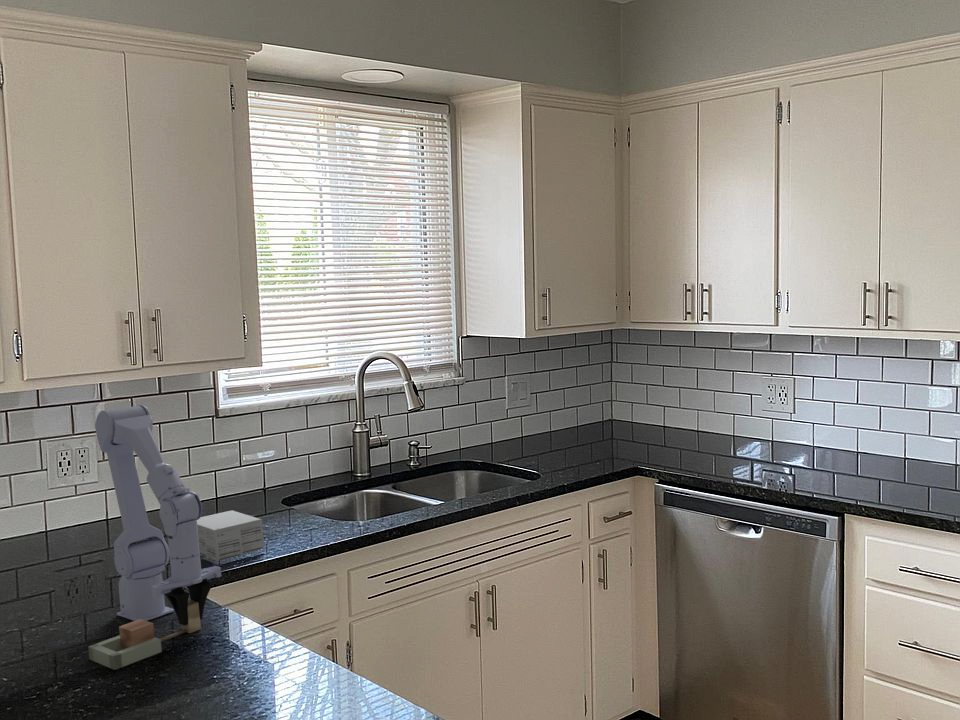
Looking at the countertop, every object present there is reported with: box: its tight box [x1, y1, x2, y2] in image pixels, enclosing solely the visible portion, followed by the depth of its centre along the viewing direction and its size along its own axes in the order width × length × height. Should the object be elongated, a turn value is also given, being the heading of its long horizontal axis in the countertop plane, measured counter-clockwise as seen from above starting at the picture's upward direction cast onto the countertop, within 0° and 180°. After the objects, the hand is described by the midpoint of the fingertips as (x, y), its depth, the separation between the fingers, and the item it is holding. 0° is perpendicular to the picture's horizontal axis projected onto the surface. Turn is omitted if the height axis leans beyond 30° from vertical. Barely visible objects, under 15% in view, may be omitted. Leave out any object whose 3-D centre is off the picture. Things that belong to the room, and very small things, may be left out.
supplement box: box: [197, 509, 265, 561], centre depth 240 cm, size 17×13×9 cm
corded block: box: [118, 599, 202, 650], centre depth 181 cm, size 4×15×6 cm, turn 140°
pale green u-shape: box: [88, 634, 163, 671], centre depth 175 cm, size 9×10×2 cm
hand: (190, 621), depth 186 cm, fingers closed on corded block, 3 cm apart
